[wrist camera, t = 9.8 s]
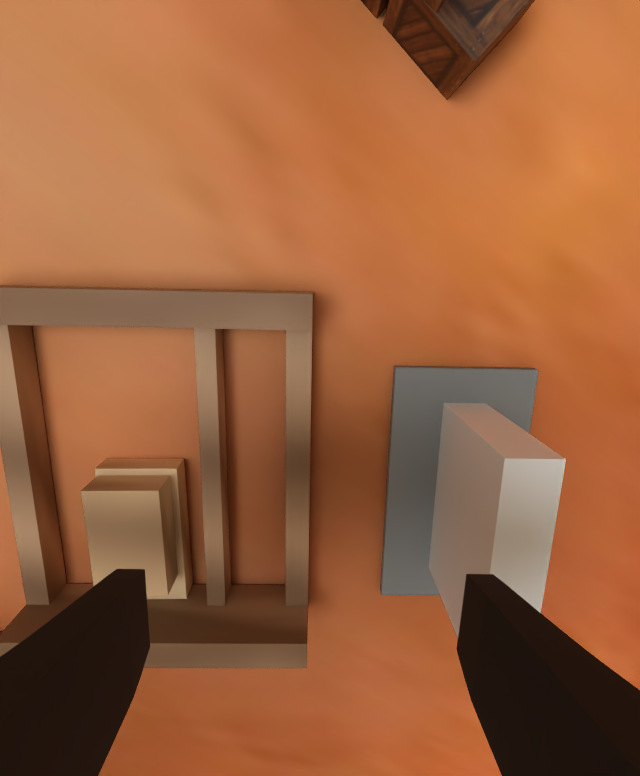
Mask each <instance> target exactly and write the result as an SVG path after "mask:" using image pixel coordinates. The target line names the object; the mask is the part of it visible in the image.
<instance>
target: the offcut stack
mask: <svg viewBox="0 0 640 776" xmlns="http://www.w3.org/2000/svg"><path fill="white" fill-rule="evenodd" d="M95 475H96V478H95V479H94V480H92V481H91V482H90V483H89V484H88V485H87V486H86V487H85V488H84V489H82V490H81V496H82V504H83V511H84V518H85V526H86V533H87V541H88V548H89V555H90V563H91V570H92V578H93V585H94V586H95V585H96V584H97V583H99V582H100V581H101V580H103V579H104V578H105V577H106V576H108V575H109V574H111V573H112V572H113V571H115V570H116V569H145V578H146V593H147V599H187V597H188V594H189V592H190V589H191V586H192V584H193V576H192V562H191V548H190V534H189V521H188V507H187V493H186V479H185V466H184V458H107V459H106V460H104V461H103V462H102V463H101V464H100V465H99V466H97V467H96V468H95Z"/></svg>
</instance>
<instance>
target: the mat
mask: <svg viewBox="0 0 640 776" xmlns="http://www.w3.org/2000/svg"><path fill="white" fill-rule="evenodd" d="M537 377H538V370H537V369H535V368H494V367H435V366H394V374H393V390H392V406H391V422H390V439H389V455H388V471H387V487H386V503H385V520H384V536H383V552H382V568H381V584H380V590H381V595H440V594H439V591H438V589H437V586H436V584H435V582H434V579H433V577H432V574H431V572H430V569H429V558H430V547H431V536H432V525H433V514H434V503H435V492H436V481H437V470H438V459H439V448H440V437H441V426H442V415H443V404H444V403H486V404H487V405H489V406H490V407H492V408H493V409H495V410H496V411H497V412H499V413H500V414H502V415H503V416H505V417H506V418H508V419H509V420H510V421H512V422H513V423H515V424H516V425H518V426H519V427H520V428H522V429H523V430H525V431H526V432H528V433H530V426H531V419H532V412H533V405H534V398H535V391H536V384H537Z"/></svg>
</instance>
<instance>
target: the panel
mask: <svg viewBox="0 0 640 776" xmlns="http://www.w3.org/2000/svg"><path fill="white" fill-rule="evenodd" d="M565 463H566V459H565V458H564V457H562V456H561V455H559V454H558V453H556V452H555V451H554V450H552V449H551V448H549V447H548V446H546V445H545V444H544V443H542V442H541V441H539V440H538V439H536V438H535V437H533V436H532V435H531V434H529V433H528V432H526V431H525V430H523V429H522V428H520V427H519V426H518V425H516V424H515V423H513V422H512V421H510V420H509V419H508V418H506V417H505V416H503V415H502V414H500V413H499V412H497V411H496V410H495V409H493V408H492V407H490V406H489V405H487V404H486V403H444V404H443V415H442V426H441V437H440V448H439V459H438V470H437V481H436V492H435V503H434V514H433V525H432V536H431V547H430V558H429V569H430V572H431V574H432V577H433V579H434V582H435V584H436V586H437V589H438V591H439V594H440V596H441V599H442V601H443V604H444V606H445V608H446V611H447V613H448V616H449V618H450V621H451V623H452V626H453V628H454V631H455V633H456V635H457V638H458V635H459V628H460V620H461V612H462V604H463V596H464V588H465V581H466V574H493V575H495V576H496V577H497V578H499V579H500V580H501V581H502V582H504V583H505V584H506V585H507V586H509V587H510V588H511V589H512V590H513V591H515V592H516V593H517V594H518V595H519V596H521V597H522V598H523V599H524V600H525V601H527V602H528V603H529V604H530V605H531V606H533V607H534V608H535V609H536V610H537V611H539V612H540V613H541V608H542V602H543V596H544V590H545V584H546V578H547V572H548V566H549V560H550V554H551V548H552V542H553V536H554V530H555V524H556V518H557V512H558V506H559V500H560V493H561V487H562V481H563V475H564V469H565Z"/></svg>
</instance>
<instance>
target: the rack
mask: <svg viewBox="0 0 640 776" xmlns="http://www.w3.org/2000/svg"><path fill="white" fill-rule="evenodd" d="M312 307H313V292H299V291H250V290H201V289H152V288H103V287H54V286H4V285H0V446H1V452H2V458H3V464H4V471H5V477H6V483H7V489H8V495H9V501H10V507H11V513H12V519H13V525H14V531H15V537H16V543H17V550H18V556H19V562H20V568H21V574H22V580H23V586H24V592H25V598H26V604H27V605H26V606H25V607H24V608H23V609H22V610H21V611H20V612H19V614H18V615H17V616H16V617H15V618H14V619H13V620H12V621H11V623H10V624H9V625H8V626H7V627H6V628H5V629H4V630H3V632H2V633H1V634H0V657H1V656H2V655H3V654H5V653H6V652H8V651H9V650H10V649H12V648H13V647H15V646H16V645H17V644H19V643H20V642H22V641H23V640H24V639H26V638H27V637H29V636H30V635H31V634H33V633H34V632H35V631H37V630H38V629H39V628H40V627H42V626H43V625H44V624H46V623H47V622H48V621H50V620H51V619H52V618H54V617H55V616H56V615H57V614H59V613H60V612H61V611H63V610H64V609H65V608H67V607H68V606H69V605H70V604H72V603H73V602H74V601H76V600H77V599H78V598H79V597H81V596H82V595H83V594H85V593H86V592H87V591H88V590H90V589H91V588H92V587H93V586H94V585H93V584H84V583H67V581H66V574H65V567H64V559H63V552H62V545H61V538H60V530H59V523H58V516H57V508H56V501H55V494H54V486H53V479H52V472H51V465H50V457H49V450H48V443H47V435H46V428H45V421H44V413H43V406H42V399H41V392H40V384H39V377H38V370H37V362H36V355H35V348H34V340H33V333H32V326H31V325H39V326H93V327H147V328H194V340H195V361H196V382H197V402H198V423H199V443H200V464H201V484H202V505H203V526H204V546H205V567H206V584H192V586H191V589H190V592H189V594H188V597H187V599H147V607H148V621H149V635H150V649H149V652H148V655H147V658H146V661H145V665H144V668H307V623H308V559H309V496H310V433H311V370H312ZM223 329H255V330H286V585H241V584H231V568H230V537H229V507H228V477H227V446H226V416H225V386H224V355H223Z"/></svg>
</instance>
